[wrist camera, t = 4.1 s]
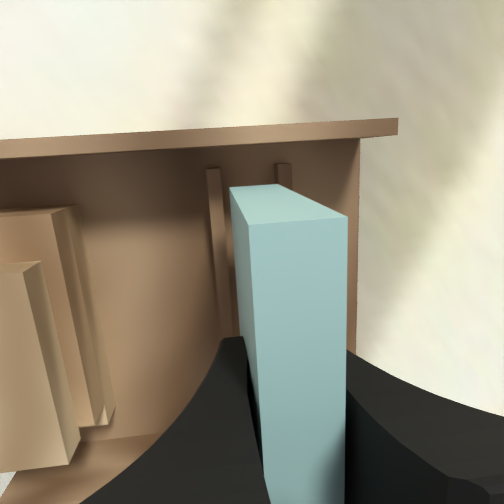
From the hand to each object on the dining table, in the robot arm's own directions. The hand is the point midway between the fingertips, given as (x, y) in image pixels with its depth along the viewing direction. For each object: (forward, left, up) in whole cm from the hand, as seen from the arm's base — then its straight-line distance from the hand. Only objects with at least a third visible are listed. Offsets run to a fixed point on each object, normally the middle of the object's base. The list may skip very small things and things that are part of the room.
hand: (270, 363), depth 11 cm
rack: (-3, 0, -6) cm, 6 cm away
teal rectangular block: (0, 0, -2) cm, 2 cm away
